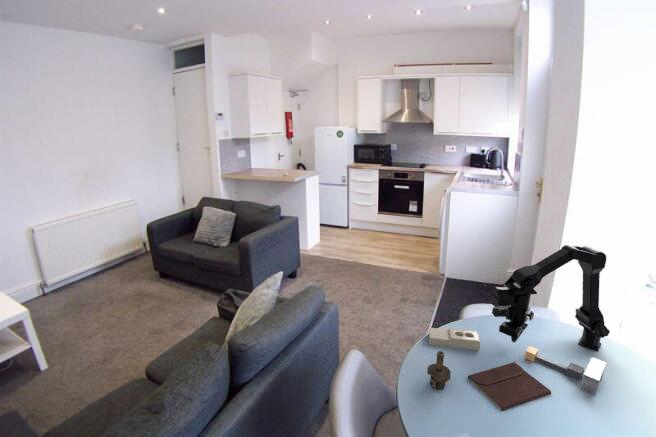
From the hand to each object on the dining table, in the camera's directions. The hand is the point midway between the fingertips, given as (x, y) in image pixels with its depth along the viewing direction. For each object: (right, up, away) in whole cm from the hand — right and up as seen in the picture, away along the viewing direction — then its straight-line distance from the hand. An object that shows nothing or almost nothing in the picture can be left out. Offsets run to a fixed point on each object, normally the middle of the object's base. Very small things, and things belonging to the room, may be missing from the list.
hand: (513, 341), depth 138 cm
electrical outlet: (-21, -2, +6) cm, 21 cm away
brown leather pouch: (-10, -9, -17) cm, 22 cm away
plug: (+10, -6, -8) cm, 14 cm away
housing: (+18, -8, -16) cm, 25 cm away
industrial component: (-34, -9, -17) cm, 39 cm away
